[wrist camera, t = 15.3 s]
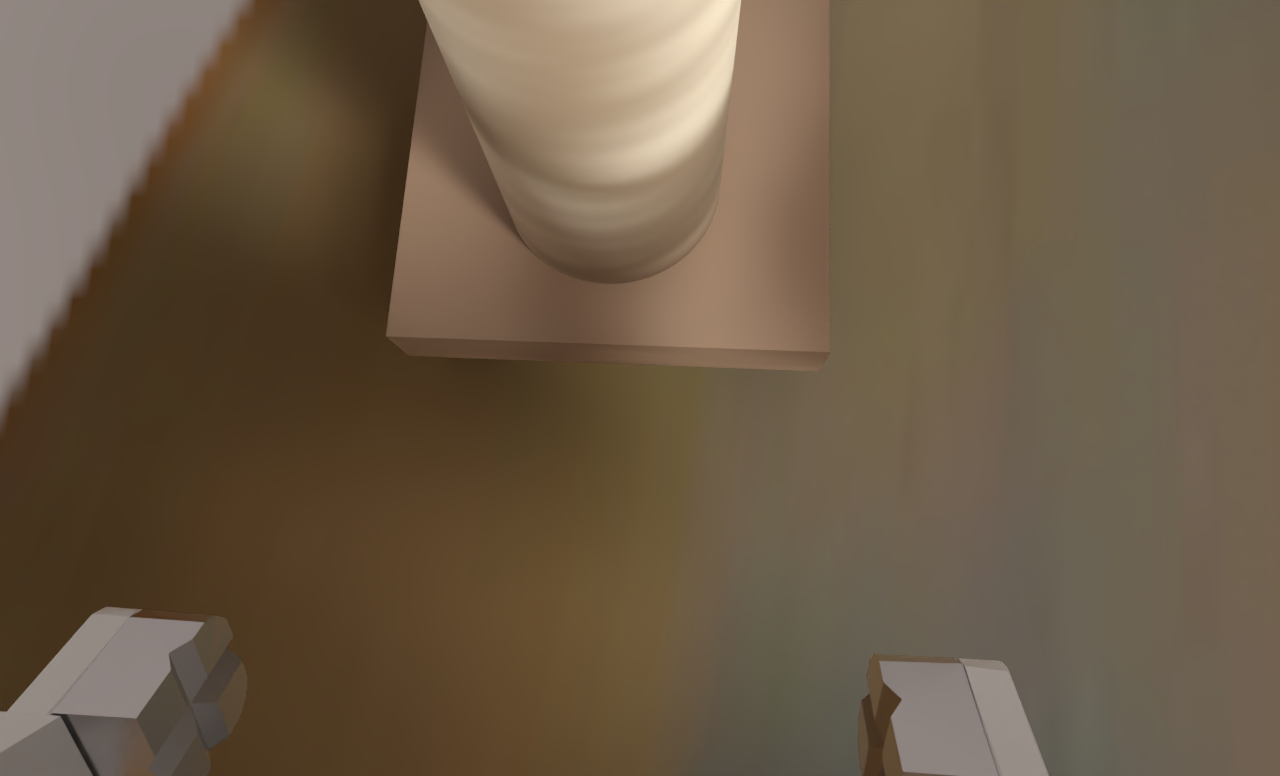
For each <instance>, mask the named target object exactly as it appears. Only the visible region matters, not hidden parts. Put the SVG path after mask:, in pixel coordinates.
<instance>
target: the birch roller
mask: <svg viewBox="0 0 1280 776" xmlns="http://www.w3.org/2000/svg"><path fill="white" fill-rule="evenodd" d="M419 2H420V5H421V7H422V9H423V12H424V14H425V16H426V19H427V21H428V23H429V26H430V28H431V30H432V33H433V35H434V37H435V40H436V42H437V44H438V47H439V49H440V51H441V54H442V56H443V58H444V61H445V63H446V65H447V68H448V70H449V72H450V75H451V77H452V79H453V82H454V84H455V86H456V89H457V91H458V93H459V96H460V98H461V100H462V103H463V105H464V107H465V110H466V112H467V114H468V117H469V119H470V121H471V124H472V126H473V128H474V131H475V133H476V135H477V138H478V140H479V142H480V145H481V147H482V150H483V152H484V154H485V157H486V159H487V161H488V164H489V166H490V168H491V171H492V173H493V175H494V178H495V180H496V182H497V185H498V187H499V189H500V192H501V194H502V196H503V199H504V201H505V203H506V206H507V208H508V210H509V213H510V215H511V217H512V220H513V222H514V224H515V227H516V229H517V231H518V233H519V234H520V236H521V237H522V239H523V241H524V242H525V243H526V245H527V246H528V247H529V248H530V249H531V251H532V252H533V253H534V254H535V255H537V256H538V257H539V258H540V259H541V260H542V261H543V262H545V263H546V264H548V265H549V266H551V267H552V268H553V269H555V270H557V271H559V272H561V273H563V274H565V275H568V276H570V277H573V278H576V279H579V280H583V281H588V282H592V283H602V284H620V283H628V282H634V281H638V280H642V279H645V278H649V277H651V276H654V275H656V274H658V273H661V272H663V271H665V270H666V269H668V268H670V267H672V266H673V265H675V264H676V263H678V262H679V261H680V260H681V259H683V258H684V257H685V256H687V255H688V254H689V253H690V252H691V251H692V250H693V249H694V248H695V247H696V245H697V244H698V243H699V241H700V240H701V239H702V237H703V236H704V235H705V233H706V231H707V229H708V228H709V226H710V224H711V222H712V219H713V217H714V214H715V212H716V208H717V204H718V199H719V191H720V182H721V173H722V165H723V156H724V147H725V138H726V129H727V121H728V112H729V103H730V94H731V85H732V77H733V68H734V59H735V50H736V41H737V33H738V24H739V15H740V6H741V0H419Z"/></svg>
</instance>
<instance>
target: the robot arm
mask: <svg viewBox="0 0 1280 776" xmlns="http://www.w3.org/2000/svg"><path fill="white" fill-rule="evenodd" d="M233 636H234V635H233V633H232V631H231V628H230V626H229V623H228V621H227V619H226V618H225V617H220V616H215V615H204V614H193V613H181V612H170V611H158V610H147V609H143V610H142V609H129V608H117V607H105V608H103V609H101V610H99V611H97V612H95V613H93V614H92V615H91V616H90V617H89V618H88V619H87V620H86V622H85V623H84V624H83V625H82V626H81V627H80V628H79V630H78V631H77V632H76V633H75V634H74V635H73V636H72V638H71V639H70V640H69V641H68V642H67V643H66V644H65V646H64V647H63V648H62V649H61V650H60V651H59V652H58V654H57V655H56V656H55V657H54V658H53V659H52V660H51V662H50V663H49V664H48V665H47V666H46V667H45V668H44V670H43V671H42V672H41V673H40V674H39V675H38V676H37V678H36V679H35V680H34V681H33V682H32V683H31V684H30V686H29V687H28V688H27V689H26V690H25V691H24V692H23V694H22V695H21V696H20V697H19V698H18V699H17V700H16V702H15V703H14V704H13V705H12V706H11V707H10V708H9V710H8V711H7V712H2V711H0V776H207V774H208V773H209V771H210V769H211V768H212V766H211V759H210V753H209V750H210V749H212V748H213V747H214V746H216V745H217V744H219V743H220V742H221V741H223V740H224V739H226V738H227V737H229V736H230V735H231V733H232V731H233V729H234V727H235V726H236V724H237V722H238V720H239V718H240V717H241V715H242V711H243V707H244V703H245V699H246V695H247V692H248V690H247V673H246V670H245V667H244V664H243V661H242V660H241V659H240V658H239V657H238V656H236V655H235V654H234V653H233V652H232V651H230V650H229V649H228V648H227V646H228V644H229V643H230V641H231V640H232V638H233ZM866 676H867V681H868V687H869V692H870V694H869V695H867V696H866V697H865V698H863V699H862V700H861V705H860V711H859V718H858V752H859V762H860V769H861V775H862V776H1049V774H1048V771H1047V769H1046V766H1045V764H1044V761H1043V758H1042V756H1041V753H1040V751H1039V748H1038V745H1037V743H1036V740H1035V738H1034V735H1033V732H1032V730H1031V727H1030V725H1029V722H1028V719H1027V717H1026V714H1025V712H1024V709H1023V706H1022V704H1021V701H1020V699H1019V696H1018V693H1017V691H1016V688H1015V686H1014V683H1013V680H1012V678H1011V675H1010V673H1009V670H1008V668H1007V667H1006V666H1005V665H1004V664H1003V662H1002V661H995V660H977V659H955V658H948V657H927V656H906V655H885V654H873V656H872V657H871V659H870V661H869V665H868V670H867V675H866Z"/></svg>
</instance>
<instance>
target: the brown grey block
mask: <svg viewBox="0 0 1280 776" xmlns="http://www.w3.org/2000/svg"><path fill="white" fill-rule="evenodd" d="M386 337H387V338H388V339H389V340H391V341H392V342H393V343H394V344H395V345H396V346H397V347H399V348H400V349H401V350H402V351H403V352H404V353H405V354H407V355H408V356H423V357H450V358H477V359H504V360H531V361H558V362H585V363H612V364H639V365H666V366H693V367H720V368H747V369H774V370H801V371H819V370H820V368H821V367H822V365H823V364H824V362H825V360H826V359H827V357H828V355H829V354H830V1H829V0H741V6H740V15H739V24H738V33H737V41H736V50H735V59H734V68H733V77H732V85H731V94H730V103H729V112H728V121H727V129H726V138H725V147H724V156H723V165H722V173H721V182H720V191H719V199H718V204H717V208H716V212H715V214H714V217H713V219H712V222H711V224H710V226H709V228H708V229H707V231H706V233H705V235H704V236H703V237H702V239H701V240H700V241H699V243H698V244H697V245H696V247H695V248H694V249H693V250H692V251H691V252H690V253H689V254H688V255H687V256H685V257H684V258H683V259H681V260H680V261H679V262H678V263H676V264H675V265H673V266H672V267H670V268H668V269H666V270H665V271H663V272H661V273H658V274H656V275H654V276H651V277H649V278H645V279H642V280H638V281H634V282H628V283H620V284H602V283H592V282H588V281H583V280H579V279H576V278H573V277H570V276H568V275H565V274H563V273H561V272H559V271H557V270H555V269H553V268H552V267H551V266H549V265H548V264H546V263H545V262H543V261H542V260H541V259H540V258H539V257H538V256H537V255H535V254H534V253H533V252H532V251H531V249H530V248H529V247H528V246H527V245H526V243H525V242H524V241H523V239H522V237H521V236H520V234H519V233H518V231H517V229H516V227H515V224H514V222H513V220H512V217H511V215H510V213H509V210H508V208H507V206H506V203H505V201H504V199H503V196H502V194H501V192H500V189H499V187H498V185H497V182H496V180H495V178H494V175H493V173H492V171H491V168H490V166H489V164H488V161H487V159H486V157H485V154H484V152H483V150H482V147H481V145H480V142H479V140H478V138H477V135H476V133H475V131H474V128H473V126H472V124H471V121H470V119H469V117H468V114H467V112H466V110H465V107H464V105H463V103H462V100H461V98H460V96H459V93H458V91H457V89H456V86H455V84H454V82H453V79H452V77H451V75H450V72H449V70H448V68H447V65H446V63H445V61H444V58H443V56H442V54H441V51H440V49H439V47H438V44H437V42H436V40H435V37H434V35H433V33H432V30H431V28H430V26H429V23H428V21H427V26H426V34H425V42H424V49H423V57H422V64H421V72H420V80H419V87H418V95H417V103H416V110H415V118H414V125H413V133H412V141H411V148H410V156H409V163H408V171H407V179H406V186H405V194H404V201H403V209H402V217H401V224H400V232H399V240H398V247H397V255H396V262H395V270H394V278H393V285H392V293H391V300H390V308H389V316H388V323H387V331H386Z"/></svg>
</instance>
